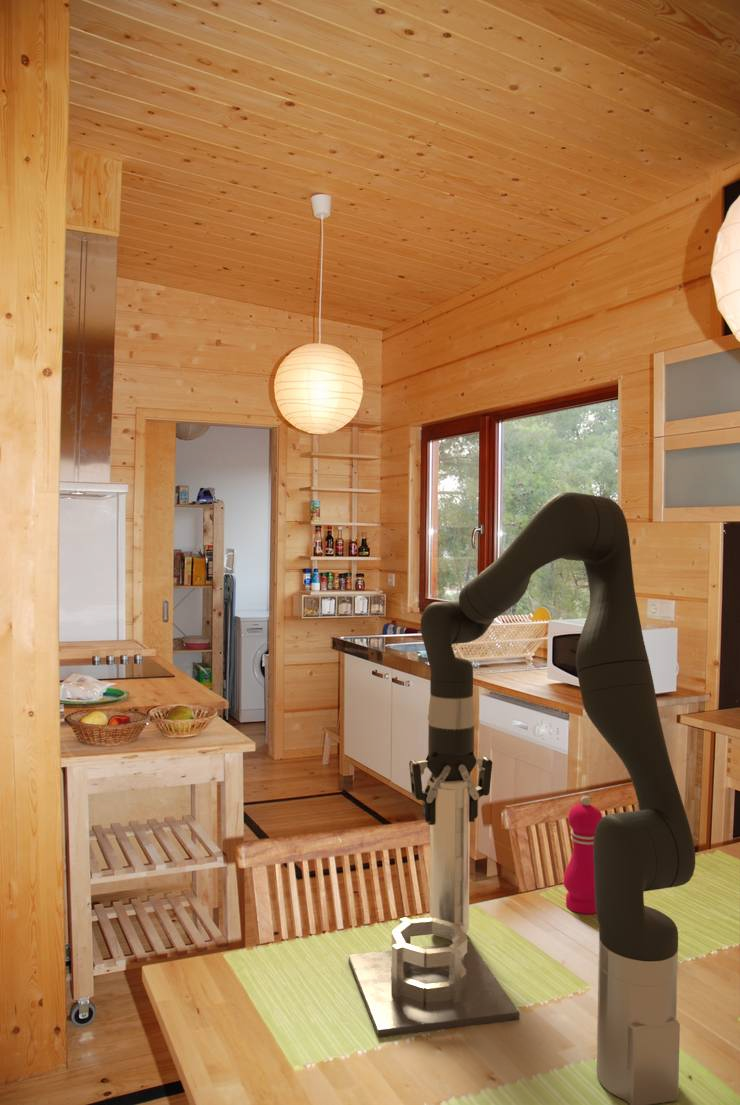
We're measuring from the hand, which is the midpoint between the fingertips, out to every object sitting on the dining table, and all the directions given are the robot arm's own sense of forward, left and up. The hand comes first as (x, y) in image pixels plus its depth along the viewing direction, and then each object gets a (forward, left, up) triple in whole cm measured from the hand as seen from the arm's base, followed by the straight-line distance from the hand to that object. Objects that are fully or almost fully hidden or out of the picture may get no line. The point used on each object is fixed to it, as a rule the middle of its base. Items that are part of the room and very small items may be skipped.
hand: (450, 821), depth 140 cm
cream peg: (0, 0, -18) cm, 18 cm away
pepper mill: (+5, -27, -19) cm, 34 cm away
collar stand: (-15, +8, -19) cm, 25 cm away
